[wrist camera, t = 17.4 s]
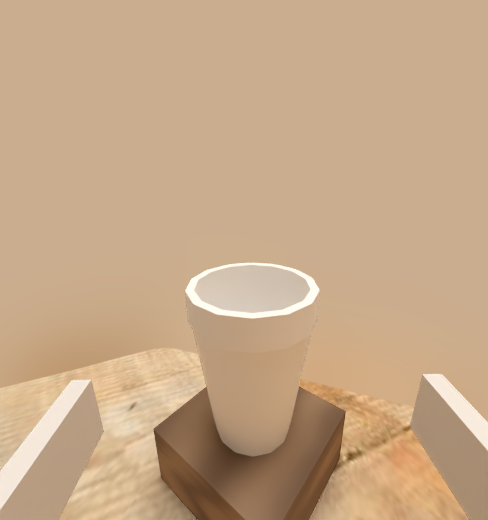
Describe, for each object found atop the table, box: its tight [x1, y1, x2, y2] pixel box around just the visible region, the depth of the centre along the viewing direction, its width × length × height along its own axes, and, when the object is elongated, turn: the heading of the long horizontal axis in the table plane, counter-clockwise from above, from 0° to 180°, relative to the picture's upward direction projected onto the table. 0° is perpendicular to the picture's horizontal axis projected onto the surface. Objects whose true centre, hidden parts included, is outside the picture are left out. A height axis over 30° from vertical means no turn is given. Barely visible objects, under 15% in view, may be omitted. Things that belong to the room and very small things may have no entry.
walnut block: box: [154, 387, 346, 520], centre depth 25 cm, size 12×12×6 cm
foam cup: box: [185, 263, 320, 457], centre depth 22 cm, size 10×9×13 cm
